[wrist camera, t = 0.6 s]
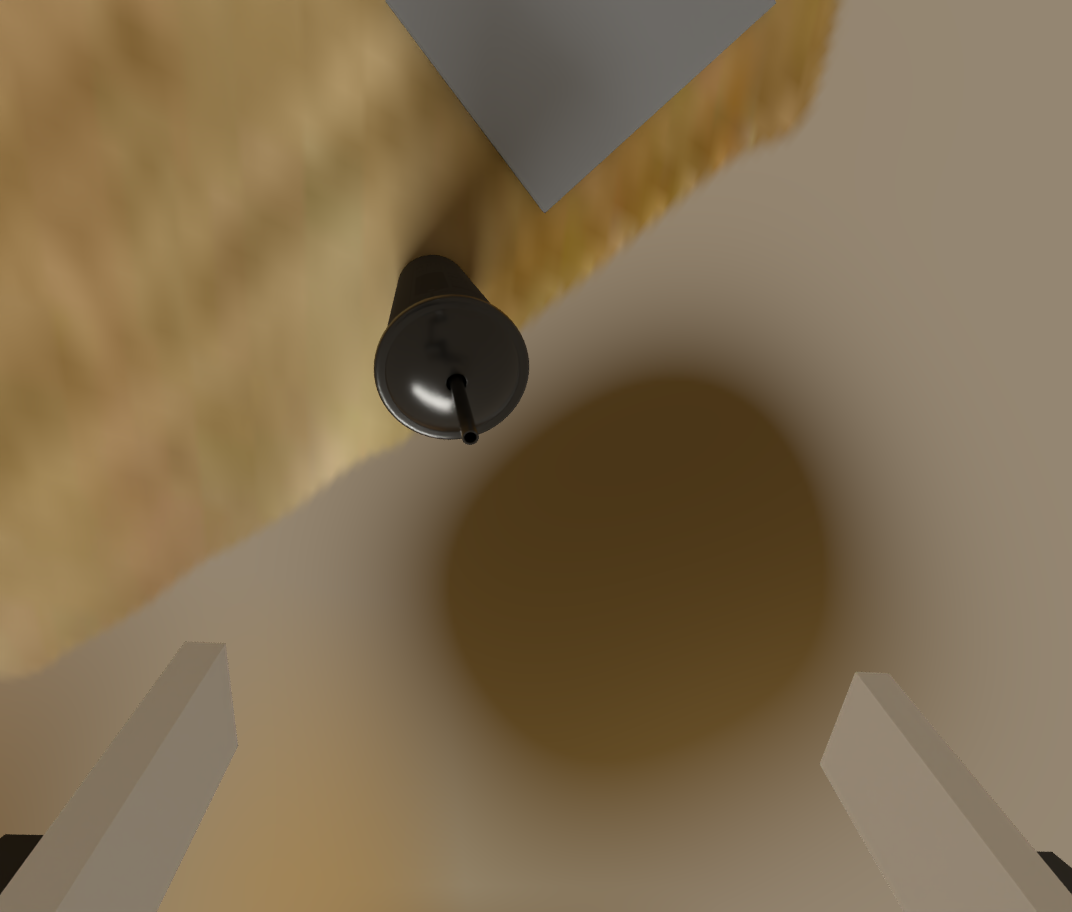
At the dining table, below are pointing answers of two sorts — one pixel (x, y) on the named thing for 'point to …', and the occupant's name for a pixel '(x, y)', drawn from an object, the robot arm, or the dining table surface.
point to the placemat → (569, 71)
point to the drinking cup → (448, 355)
